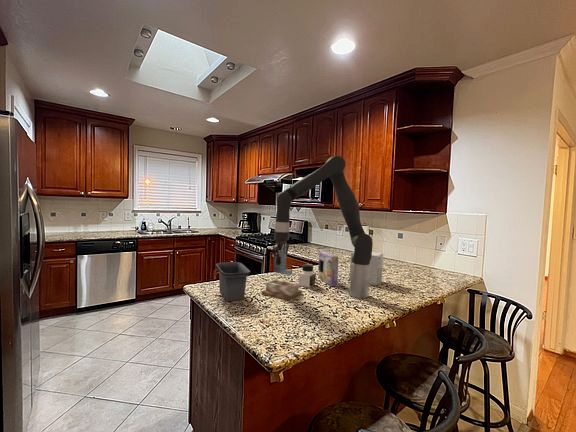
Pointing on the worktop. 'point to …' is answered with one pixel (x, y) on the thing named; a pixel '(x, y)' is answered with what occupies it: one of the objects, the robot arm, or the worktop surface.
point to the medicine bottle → (307, 276)
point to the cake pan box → (328, 268)
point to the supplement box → (373, 268)
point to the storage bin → (232, 280)
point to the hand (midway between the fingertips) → (280, 263)
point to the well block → (282, 289)
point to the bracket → (282, 266)
